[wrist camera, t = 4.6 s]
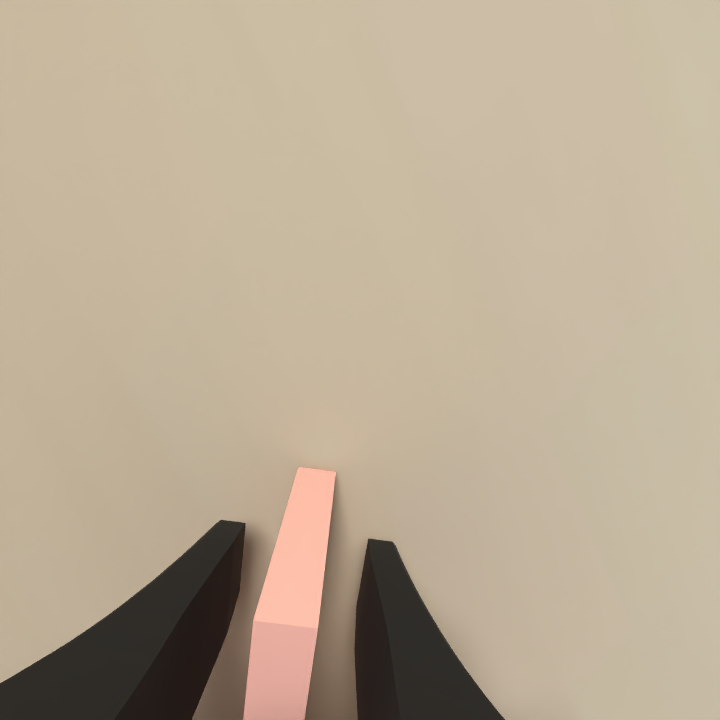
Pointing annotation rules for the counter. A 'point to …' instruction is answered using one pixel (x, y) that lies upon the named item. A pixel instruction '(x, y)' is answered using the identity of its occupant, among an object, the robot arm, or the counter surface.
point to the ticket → (291, 604)
